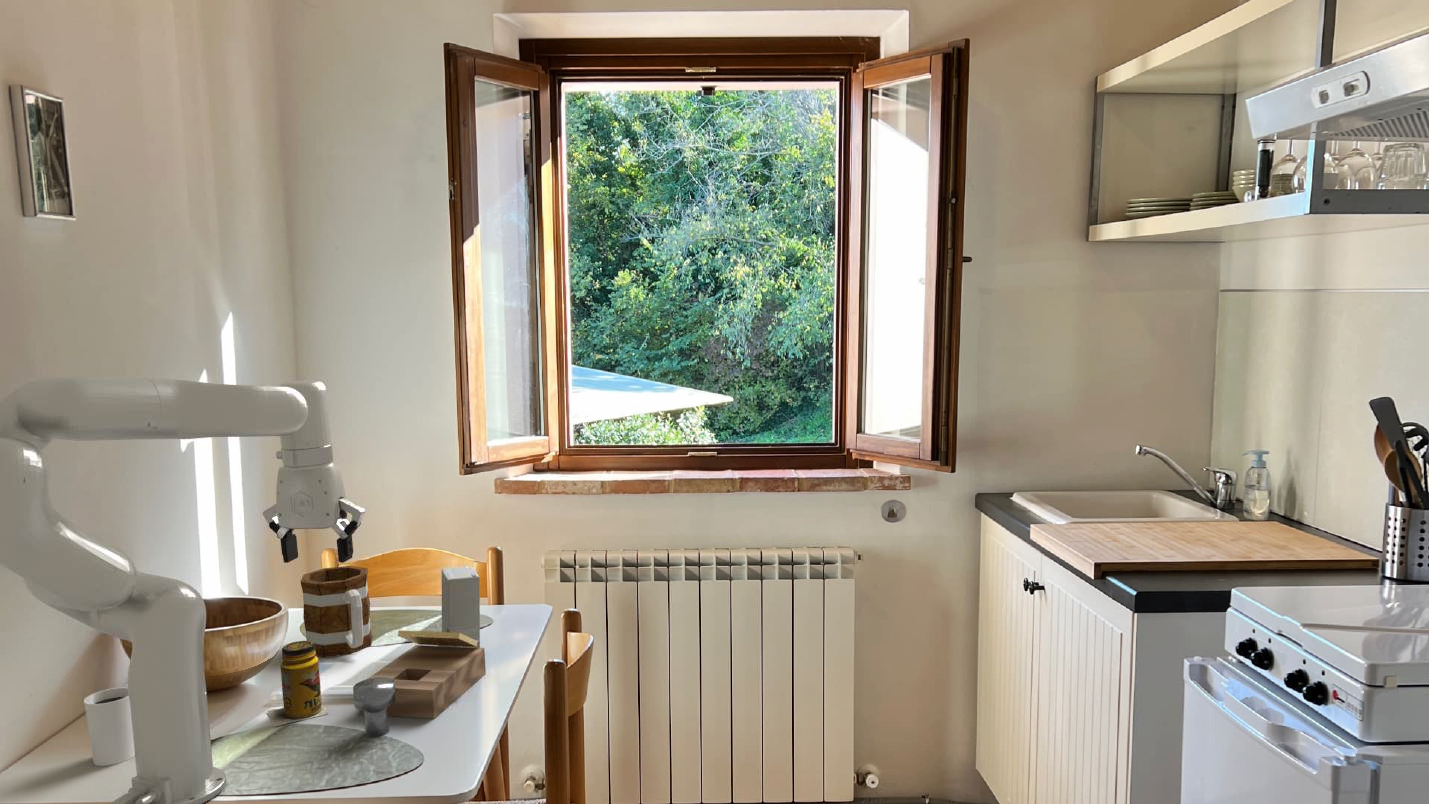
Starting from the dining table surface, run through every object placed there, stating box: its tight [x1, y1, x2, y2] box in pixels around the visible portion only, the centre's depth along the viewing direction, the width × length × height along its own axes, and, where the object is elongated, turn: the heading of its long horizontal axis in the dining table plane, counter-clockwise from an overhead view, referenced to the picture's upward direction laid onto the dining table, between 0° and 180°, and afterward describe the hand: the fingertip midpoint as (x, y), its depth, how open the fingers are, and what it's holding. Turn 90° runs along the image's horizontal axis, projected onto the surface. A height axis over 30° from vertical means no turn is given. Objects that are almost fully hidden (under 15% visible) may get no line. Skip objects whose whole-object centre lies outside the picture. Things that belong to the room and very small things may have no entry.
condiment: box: [267, 640, 329, 727], centre depth 167 cm, size 7×8×12 cm
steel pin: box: [352, 677, 396, 738], centre depth 159 cm, size 6×6×8 cm
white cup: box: [83, 686, 135, 767], centre depth 153 cm, size 7×7×10 cm
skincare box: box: [440, 565, 481, 648], centre depth 197 cm, size 8×7×16 cm
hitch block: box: [358, 644, 487, 720], centre depth 175 cm, size 20×14×5 cm
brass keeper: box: [397, 630, 481, 647], centre depth 180 cm, size 9×12×1 cm
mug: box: [299, 565, 374, 658], centre depth 198 cm, size 20×14×15 cm
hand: (318, 560), depth 160 cm, fingers open, 9 cm apart
